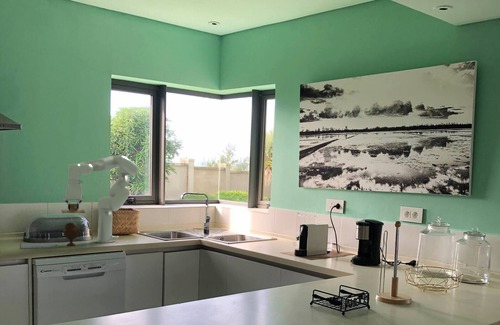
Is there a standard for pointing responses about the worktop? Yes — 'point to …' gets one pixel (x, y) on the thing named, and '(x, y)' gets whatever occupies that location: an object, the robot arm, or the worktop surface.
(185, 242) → the worktop surface
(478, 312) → the worktop surface
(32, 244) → the pale grey flat board
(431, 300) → the worktop surface
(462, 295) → the worktop surface
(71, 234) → the ice cream bowl
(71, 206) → the walnut lid
